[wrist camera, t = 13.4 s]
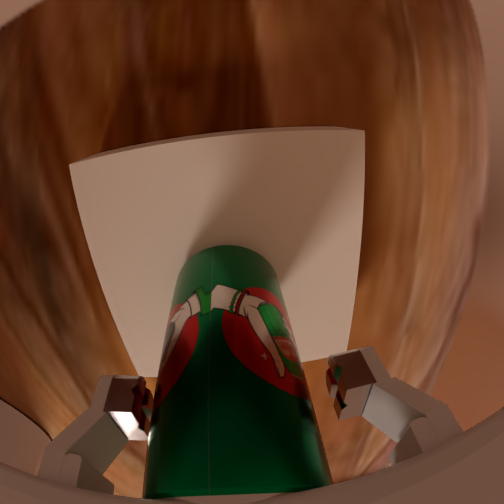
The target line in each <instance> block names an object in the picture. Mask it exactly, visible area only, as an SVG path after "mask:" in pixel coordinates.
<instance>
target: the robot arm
mask: <svg viewBox="0 0 504 504" xmlns="http://www.w3.org/2000/svg"><path fill="white" fill-rule="evenodd" d="M328 364H329V367H330V368H329V369H328V370H327V372H326V385H327V389H328V392H329V395H330V396H331V397H332V398H334V399H335V401H334V405H333V406H334V409H335V411H336V414H337V417H338V419H339V420H343V419H347V418H351V417H355V416H359V415H362V417H364V418H365V419H366V420H368V421H369V422H370V423H371V424H373V425H374V426H375V427H377V428H378V429H379V430H381V431H382V432H383V433H385V434H386V435H387V436H389V437H390V438H391V439H393V440H394V441H395V442H397V444H396V446H395V447H394V449H393V450H392V452H391V453H390V455H389V460H390V462H391V465H392V466H389V467H387V468H384V469H381V470H378V471H376V472H373V473H370V474H367V475H364V476H360V477H357V478H354V479H350V480H347V481H343V482H340V483H336V484H332V485H328V486H324V487H320V488H315V489H311V490H306V491H301V492H295V493H290V494H286V495H281V496H277V497H274V498H270V499H265V500H261V501H256V502H252V503H245V504H504V407H502V408H501V409H500V410H498V411H497V412H495V413H494V414H492V415H491V416H489V417H488V418H486V419H484V420H483V421H481V422H480V423H478V424H476V425H475V426H473V427H471V428H470V429H468V430H466V431H464V432H463V430H462V428H461V427H460V425H459V423H458V422H457V420H456V418H455V417H454V415H453V413H452V412H451V410H450V408H449V407H448V405H447V404H445V403H443V402H441V401H439V400H437V399H435V398H433V397H431V396H429V395H428V394H426V393H424V392H422V391H420V390H418V389H416V388H414V387H412V386H410V385H409V384H407V383H405V382H403V381H401V380H399V379H397V378H391V377H390V375H389V373H388V371H387V370H386V368H385V366H384V365H383V363H382V361H381V359H380V358H379V356H378V354H377V353H376V351H375V349H374V348H373V347H372V346H367V347H363V348H359V349H354V350H350V351H345V352H341V353H337V354H332V355H330V356H329V358H328ZM145 385H146V381H145V380H144V378H143V376H123V375H102V376H101V377H100V378H99V381H98V384H97V387H96V390H95V393H94V397H93V400H92V403H91V406H90V410H89V411H88V410H86V411H85V412H83V413H82V414H81V415H80V416H79V417H78V418H77V419H76V420H75V421H73V422H72V423H71V424H70V425H69V426H68V427H67V428H66V429H65V430H63V431H62V432H61V433H60V434H59V435H58V436H57V437H56V438H55V439H53V440H52V441H51V440H50V438H49V437H48V436H47V435H46V434H45V433H44V432H43V431H42V430H41V429H40V428H39V427H38V426H37V425H36V424H35V423H33V422H32V421H31V420H30V419H28V418H27V417H26V416H24V415H23V414H22V413H20V412H19V411H17V410H16V409H14V408H13V407H11V406H10V405H8V404H7V403H5V402H3V401H2V400H0V504H194V503H187V502H178V501H166V500H152V499H142V498H133V497H125V496H118V495H113V492H114V485H113V484H112V482H110V481H109V480H108V479H107V478H105V477H104V476H103V473H104V472H105V471H106V470H107V468H108V467H109V466H110V464H111V463H112V462H113V461H114V459H115V458H116V457H117V455H118V454H119V453H120V452H121V450H122V449H123V448H124V446H125V445H126V444H127V442H128V440H148V437H149V429H150V421H149V419H150V418H151V414H152V408H153V401H154V399H153V396H152V393H151V391H150V390H149V389H147V388H146V387H145ZM37 474H38V475H37Z"/></svg>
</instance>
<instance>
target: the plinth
mask: <svg viewBox="0 0 504 504" xmlns="http://www.w3.org/2000/svg"><path fill="white" fill-rule="evenodd" d="M69 168H70V173H71V178H72V183H73V188H74V193H75V197H76V201H77V206H78V210H79V214H80V218H81V222H82V225H83V229H84V233H85V236H86V240H87V243H88V247H89V250H90V253H91V257H92V260H93V263H94V266H95V269H96V272H97V275H98V278H99V281H100V284H101V287H102V290H103V292H104V295H105V298H106V301H107V303H108V306H109V308H110V311H111V314H112V316H113V319H114V321H115V323H116V326H117V328H118V331H119V333H120V335H121V338H122V340H123V342H124V345H125V347H126V349H127V351H128V354H129V356H130V358H131V360H132V362H133V364H134V366H135V368H136V371H137V373H138V375H139V376H143V377H157V376H158V370H159V365H160V359H161V354H162V348H163V343H164V338H165V333H166V328H167V323H168V318H169V313H170V308H171V304H172V299H173V294H174V290H175V285H176V281H177V277H178V274H179V272H180V270H181V268H182V267H183V266H184V264H185V263H186V262H187V261H188V260H189V259H190V258H191V257H192V256H194V255H195V254H197V253H198V252H200V251H202V250H204V249H207V248H210V247H214V246H220V245H235V246H241V247H245V248H248V249H251V250H253V251H255V252H257V253H258V254H260V255H261V256H263V257H264V258H265V259H266V260H267V261H268V262H269V263H270V264H271V266H272V267H273V268H274V270H275V272H276V275H277V278H278V282H279V285H280V288H281V292H282V295H283V299H284V302H285V306H286V309H287V313H288V317H289V320H290V324H291V327H292V331H293V334H294V338H295V341H296V345H297V349H298V352H299V356H300V359H301V362H305V361H311V360H316V359H322V358H327V357H329V356H330V355H332V354H337V353H341V352H345V351H347V345H348V340H349V334H350V328H351V321H352V315H353V308H354V301H355V293H356V286H357V277H358V268H359V259H360V248H361V236H362V222H363V205H364V180H365V131H364V130H358V129H351V128H344V127H337V126H303V127H277V128H260V129H247V130H235V131H225V132H216V133H207V134H200V135H192V136H185V137H178V138H172V139H166V140H160V141H154V142H148V143H143V144H138V145H133V146H128V147H123V148H118V149H114V150H109V151H105V152H101V153H98V154H95V155H92V156H89V157H87V158H84V159H82V160H79V161H76V162H74V163H71V164H69Z"/></svg>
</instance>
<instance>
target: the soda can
mask: <svg viewBox="0 0 504 504" xmlns="http://www.w3.org/2000/svg"><path fill="white" fill-rule="evenodd" d="M332 484H333V481H332V477H331V473H330V469H329V465H328V461H327V457H326V453H325V449H324V445H323V442H322V438H321V434H320V430H319V426H318V422H317V419H316V415H315V411H314V407H313V404H312V400H311V396H310V392H309V389H308V385H307V381H306V378H305V374H304V370H303V367H302V363H301V359H300V356H299V352H298V349H297V345H296V341H295V338H294V334H293V331H292V327H291V324H290V320H289V317H288V313H287V309H286V306H285V302H284V299H283V295H282V292H281V288H280V285H279V282H278V278H277V275H276V272H275V270H274V268H273V267H272V266H271V264H270V263H269V262H268V261H267V260H266V259H265V258H264V257H263V256H261V255H260V254H258V253H257V252H255V251H253V250H251V249H248V248H245V247H241V246H235V245H220V246H214V247H210V248H207V249H204V250H202V251H200V252H198V253H197V254H195V255H194V256H192V257H191V258H190V259H189V260H188V261H187V262H186V263H185V264H184V266H183V267H182V268H181V270H180V272H179V274H178V277H177V281H176V285H175V290H174V294H173V299H172V304H171V308H170V313H169V318H168V323H167V328H166V333H165V338H164V343H163V348H162V354H161V359H160V365H159V370H158V376H157V382H156V388H155V395H154V401H153V408H152V414H151V422H150V429H149V437H148V445H147V453H146V462H145V472H144V482H143V494H142V499H152V500H166V501H178V502H187V503H194V504H245V503H252V502H256V501H261V500H265V499H270V498H274V497H277V496H281V495H286V494H290V493H295V492H301V491H306V490H311V489H315V488H320V487H324V486H328V485H332Z"/></svg>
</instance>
